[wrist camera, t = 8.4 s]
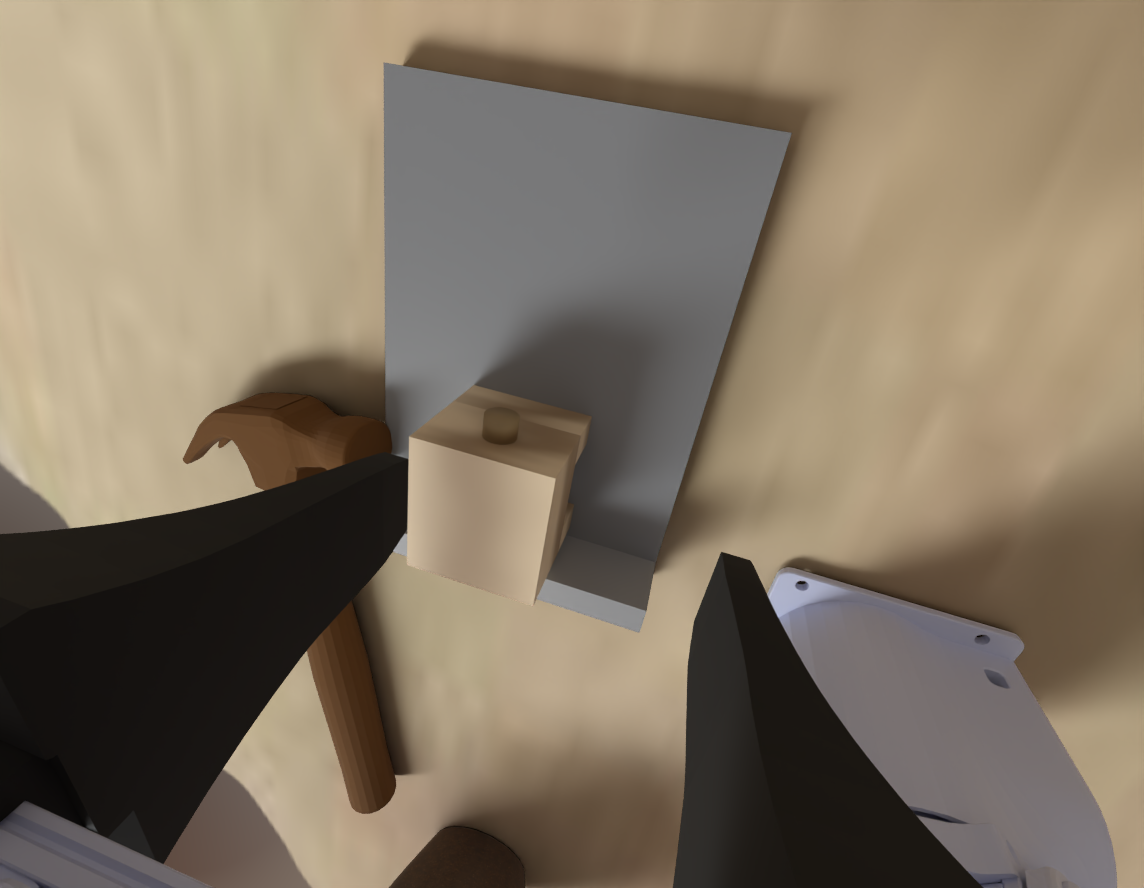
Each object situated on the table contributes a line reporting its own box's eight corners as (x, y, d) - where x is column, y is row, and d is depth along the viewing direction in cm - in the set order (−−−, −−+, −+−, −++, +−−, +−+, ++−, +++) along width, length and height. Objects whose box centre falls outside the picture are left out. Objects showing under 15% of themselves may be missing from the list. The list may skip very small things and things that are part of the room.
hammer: (438, 798, 37) (391, 410, 23) (409, 844, 35) (335, 439, 21) (315, 729, 41) (211, 362, 27) (280, 765, 39) (145, 381, 25)
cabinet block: (595, 397, 20) (559, 456, 16) (569, 527, 23) (532, 606, 19) (475, 366, 21) (409, 414, 17) (464, 495, 24) (406, 564, 20)
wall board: (788, 135, 16) (804, 122, 13) (649, 577, 25) (636, 642, 21) (400, 68, 18) (321, 40, 14) (397, 499, 27) (347, 546, 23)
